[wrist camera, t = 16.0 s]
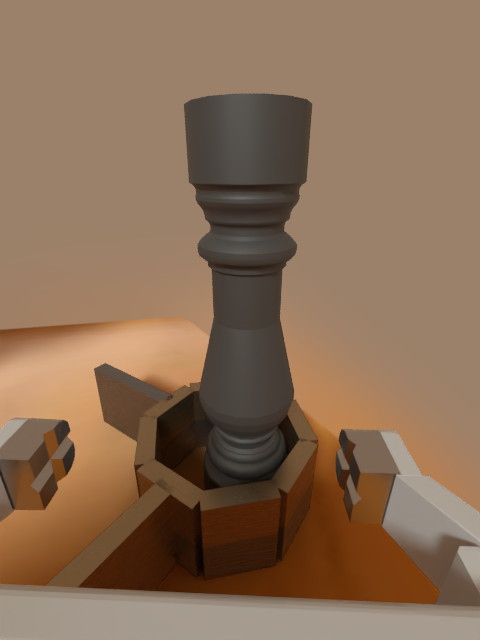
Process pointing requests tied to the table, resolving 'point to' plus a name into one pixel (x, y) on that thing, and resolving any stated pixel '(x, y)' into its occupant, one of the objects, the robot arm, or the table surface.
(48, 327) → the table surface
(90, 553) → the octagonal collar with flanges
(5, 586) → the robot arm
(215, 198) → the candle holder
